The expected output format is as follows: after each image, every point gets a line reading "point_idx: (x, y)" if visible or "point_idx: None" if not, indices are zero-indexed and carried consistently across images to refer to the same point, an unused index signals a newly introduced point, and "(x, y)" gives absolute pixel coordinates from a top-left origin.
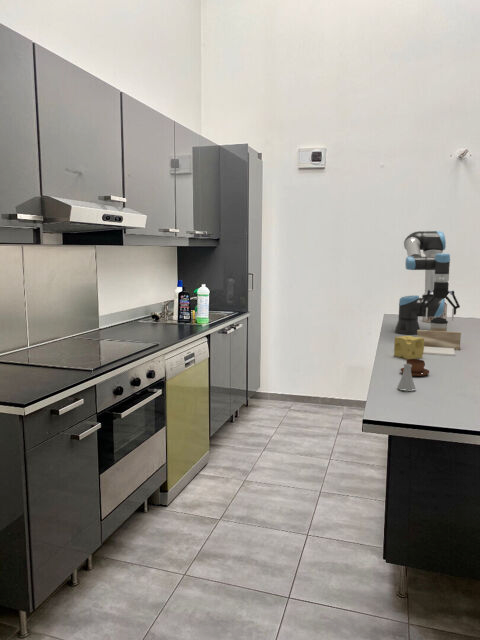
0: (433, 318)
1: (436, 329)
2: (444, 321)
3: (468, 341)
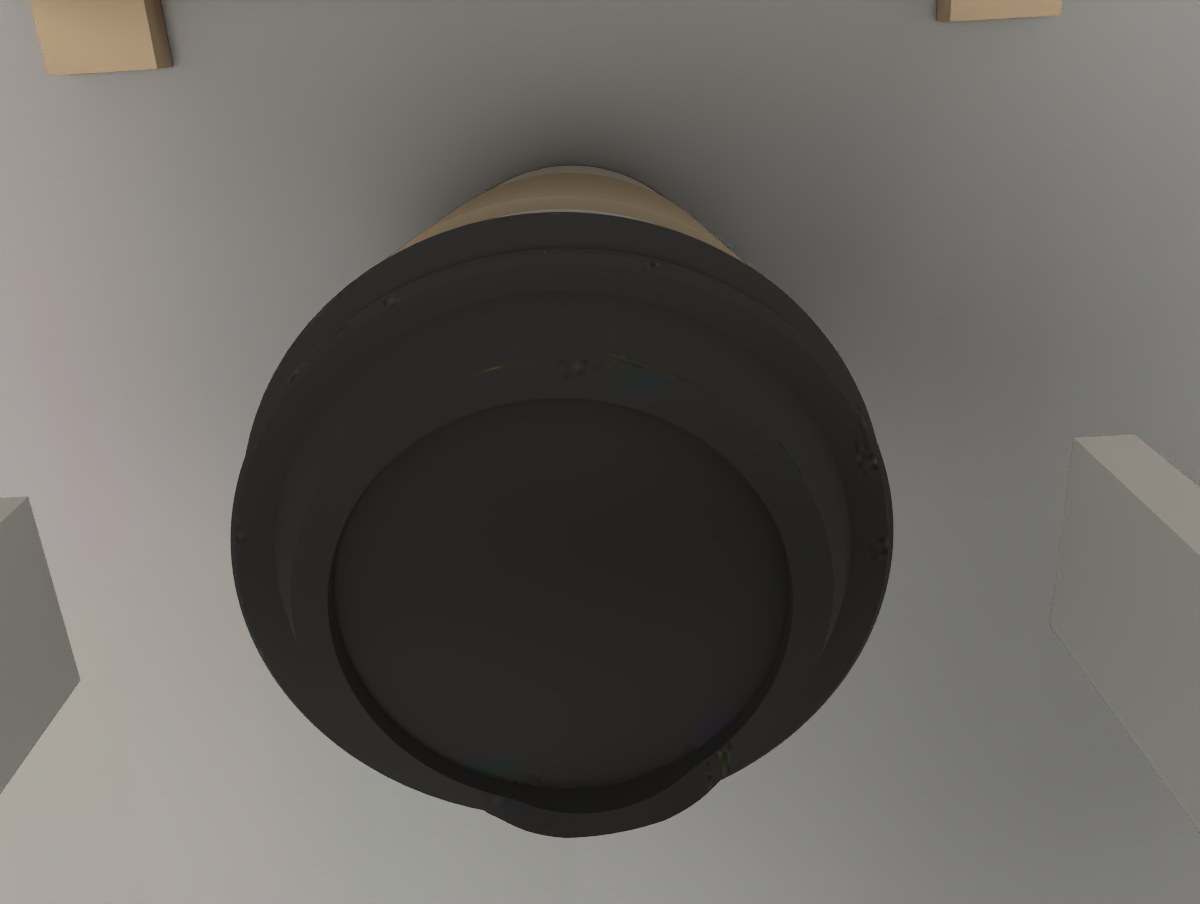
0: (805, 638)
1: (627, 197)
2: (331, 400)
3: (56, 851)
